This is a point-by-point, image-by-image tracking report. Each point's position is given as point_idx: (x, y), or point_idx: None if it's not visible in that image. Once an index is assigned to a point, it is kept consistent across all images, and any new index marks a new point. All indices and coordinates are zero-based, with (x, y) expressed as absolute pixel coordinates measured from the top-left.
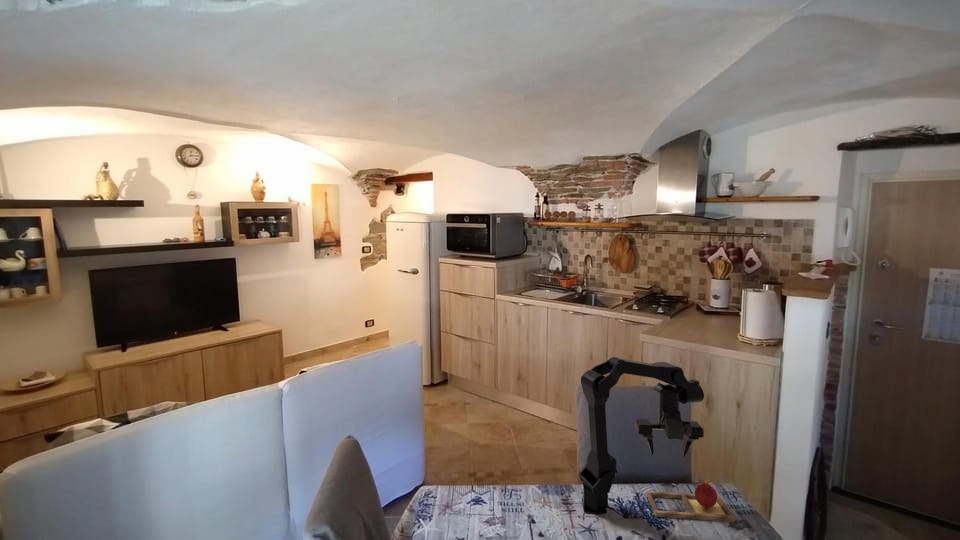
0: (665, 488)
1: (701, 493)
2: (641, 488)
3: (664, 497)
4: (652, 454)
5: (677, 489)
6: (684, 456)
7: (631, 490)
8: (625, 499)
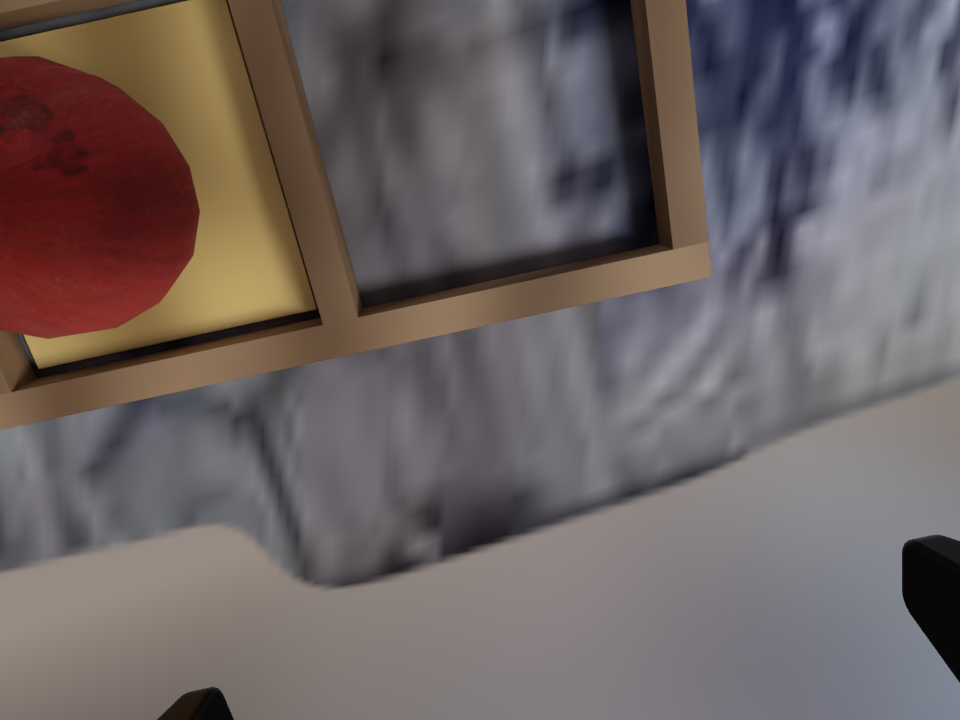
0: (501, 445)
1: (64, 97)
2: (724, 372)
3: (524, 273)
4: (935, 541)
5: (394, 464)
6: (197, 692)
7: (825, 304)
8: (913, 107)
